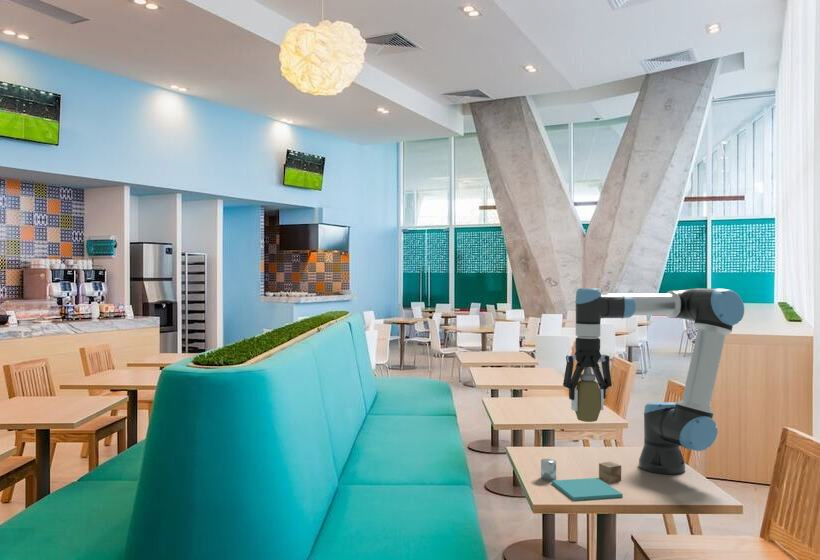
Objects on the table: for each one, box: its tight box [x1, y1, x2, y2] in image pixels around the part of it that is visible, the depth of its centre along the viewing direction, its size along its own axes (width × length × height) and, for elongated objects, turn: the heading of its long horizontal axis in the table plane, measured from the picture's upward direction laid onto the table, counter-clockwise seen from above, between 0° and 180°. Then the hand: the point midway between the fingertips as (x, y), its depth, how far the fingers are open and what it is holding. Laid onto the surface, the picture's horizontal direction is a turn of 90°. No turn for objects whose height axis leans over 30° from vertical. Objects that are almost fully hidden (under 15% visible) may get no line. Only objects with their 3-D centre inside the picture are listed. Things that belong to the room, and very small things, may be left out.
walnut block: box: [598, 460, 622, 483], centre depth 212 cm, size 5×5×5 cm
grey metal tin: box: [540, 458, 557, 482], centre depth 213 cm, size 5×5×6 cm
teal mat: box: [551, 477, 623, 501], centre depth 201 cm, size 16×16×1 cm
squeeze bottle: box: [575, 367, 602, 423], centre depth 201 cm, size 8×8×18 cm
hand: (587, 409), depth 201 cm, fingers closed on squeeze bottle, 8 cm apart
